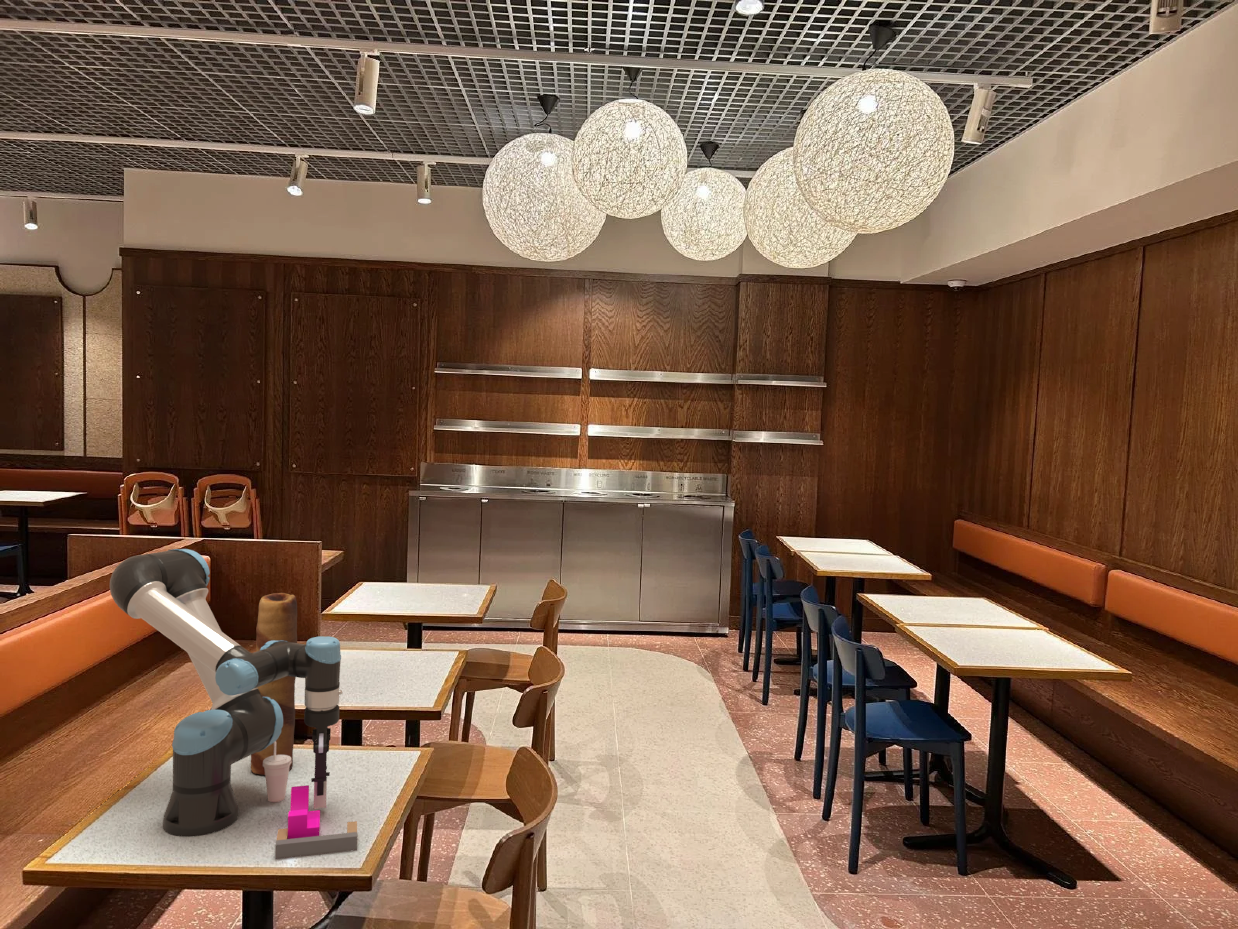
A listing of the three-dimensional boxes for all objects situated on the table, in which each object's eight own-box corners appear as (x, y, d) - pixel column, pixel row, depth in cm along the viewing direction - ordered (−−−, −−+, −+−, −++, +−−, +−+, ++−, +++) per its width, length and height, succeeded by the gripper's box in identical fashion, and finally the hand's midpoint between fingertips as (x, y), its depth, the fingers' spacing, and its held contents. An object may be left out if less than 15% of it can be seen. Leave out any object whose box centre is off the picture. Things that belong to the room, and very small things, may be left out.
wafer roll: (302, 762, 224) (305, 593, 222) (283, 778, 214) (287, 601, 212) (263, 759, 225) (267, 591, 223) (243, 775, 215) (246, 599, 212)
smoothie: (263, 795, 204) (264, 737, 203) (291, 792, 206) (292, 735, 205) (260, 807, 198) (261, 747, 197) (290, 804, 200) (291, 745, 199)
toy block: (318, 847, 181) (319, 813, 180) (287, 851, 179) (288, 816, 178) (320, 816, 195) (320, 784, 195) (290, 819, 193) (291, 787, 193)
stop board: (275, 861, 174) (275, 845, 174) (277, 845, 181) (278, 829, 181) (356, 852, 179) (357, 836, 179) (356, 837, 186) (356, 821, 186)
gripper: (339, 714, 189) (336, 817, 191) (339, 695, 202) (337, 793, 203) (303, 716, 187) (301, 821, 188) (305, 697, 199) (303, 796, 201)
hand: (319, 806), depth 196 cm, fingers closed
